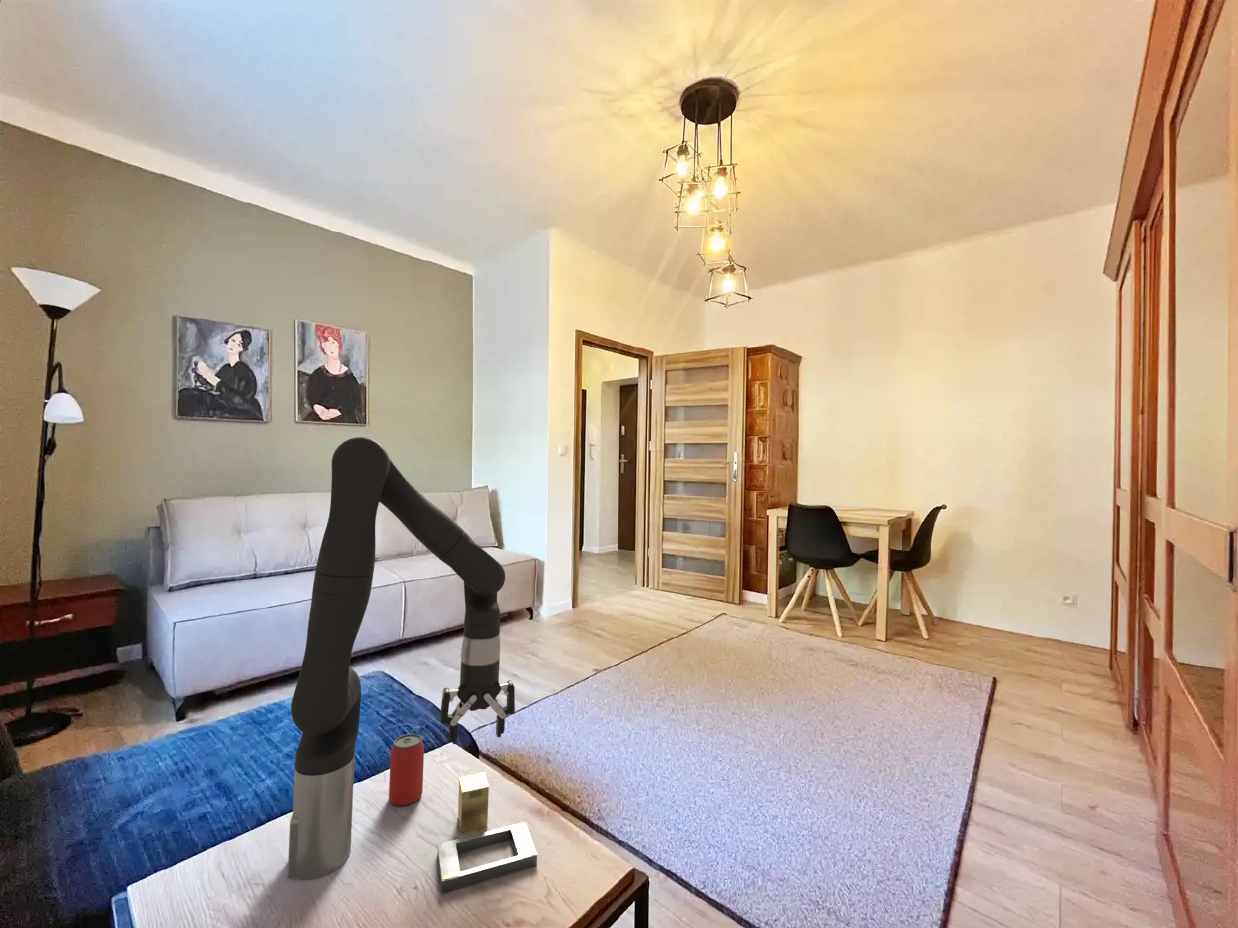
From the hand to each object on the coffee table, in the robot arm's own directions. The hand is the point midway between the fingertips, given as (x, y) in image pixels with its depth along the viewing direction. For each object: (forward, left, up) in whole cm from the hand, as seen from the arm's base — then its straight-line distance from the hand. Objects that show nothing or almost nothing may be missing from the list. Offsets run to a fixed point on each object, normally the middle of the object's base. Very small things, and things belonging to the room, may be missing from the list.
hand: (476, 738), depth 101 cm
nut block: (0, 0, -16) cm, 16 cm away
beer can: (-12, +13, -17) cm, 24 cm away
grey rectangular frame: (+1, -11, -16) cm, 20 cm away
